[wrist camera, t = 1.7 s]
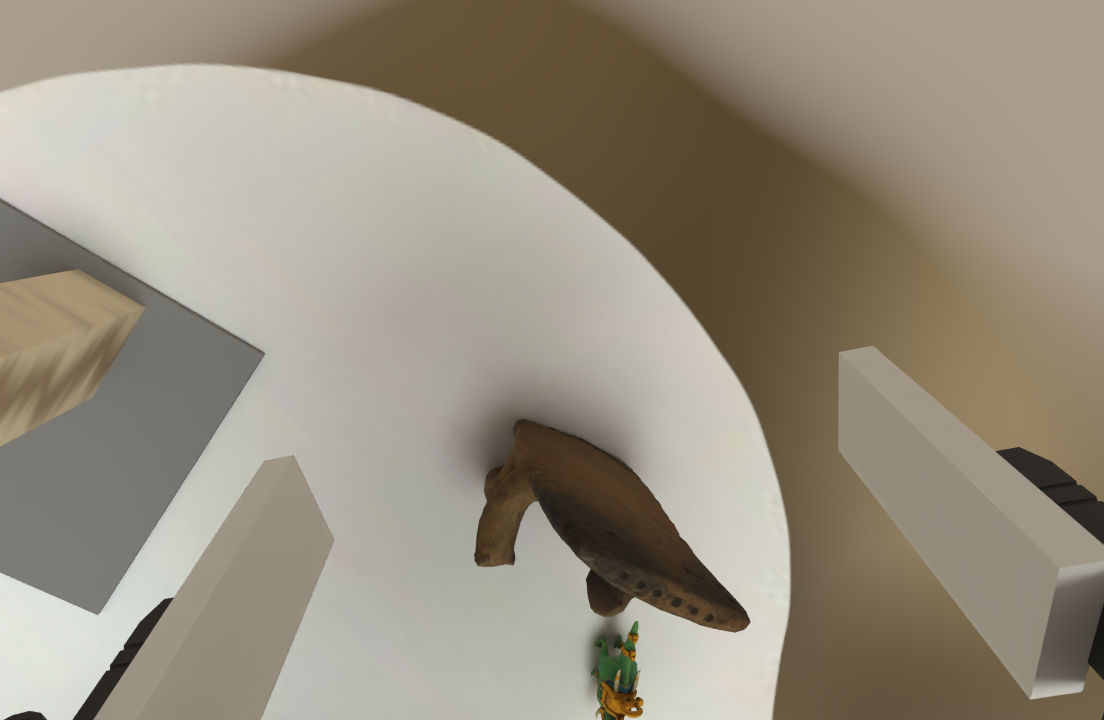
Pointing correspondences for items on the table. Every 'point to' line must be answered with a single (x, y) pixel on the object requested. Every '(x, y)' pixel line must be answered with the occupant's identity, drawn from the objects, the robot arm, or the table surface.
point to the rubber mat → (110, 431)
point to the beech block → (56, 345)
